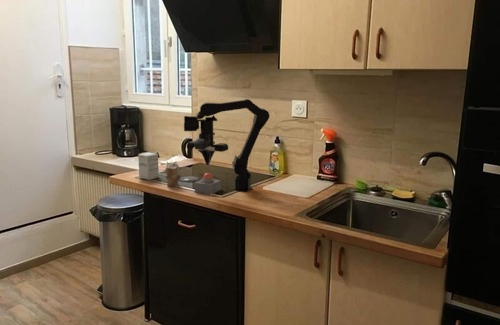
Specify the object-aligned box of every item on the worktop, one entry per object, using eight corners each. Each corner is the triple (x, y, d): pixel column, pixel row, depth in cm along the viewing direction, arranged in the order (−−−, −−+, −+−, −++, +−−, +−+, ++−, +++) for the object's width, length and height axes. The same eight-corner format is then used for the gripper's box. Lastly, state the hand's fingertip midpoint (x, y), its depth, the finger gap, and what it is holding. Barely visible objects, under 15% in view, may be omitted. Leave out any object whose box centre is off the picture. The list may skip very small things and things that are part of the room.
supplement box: (138, 177, 215) (137, 154, 212) (150, 175, 220) (148, 151, 218) (148, 180, 210) (147, 155, 208) (159, 177, 216) (158, 153, 213)
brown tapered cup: (178, 184, 202) (177, 166, 200) (175, 186, 198) (174, 168, 196) (170, 184, 203) (169, 166, 201) (167, 186, 199) (166, 168, 197)
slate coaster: (202, 178, 214) (202, 177, 214) (192, 182, 205) (192, 182, 205) (185, 176, 218) (185, 175, 218) (175, 180, 209) (175, 180, 209)
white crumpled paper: (175, 183, 217) (179, 171, 210) (160, 178, 217) (163, 165, 210) (181, 172, 224) (184, 160, 217) (166, 166, 223) (169, 154, 216)
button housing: (221, 189, 194) (221, 180, 193) (211, 194, 186) (211, 184, 185) (204, 187, 197) (204, 178, 196) (194, 192, 189) (194, 182, 188)
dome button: (214, 186, 192) (214, 172, 191) (209, 188, 188) (209, 174, 187) (206, 185, 194) (205, 171, 193) (201, 187, 190) (201, 173, 189)
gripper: (179, 132, 182) (180, 166, 185) (216, 134, 175) (217, 170, 178) (192, 128, 192) (193, 161, 195) (228, 131, 185) (228, 165, 188)
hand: (207, 164), depth 189 cm, fingers closed
